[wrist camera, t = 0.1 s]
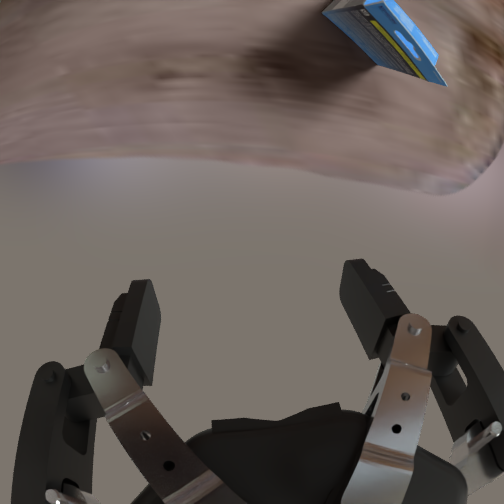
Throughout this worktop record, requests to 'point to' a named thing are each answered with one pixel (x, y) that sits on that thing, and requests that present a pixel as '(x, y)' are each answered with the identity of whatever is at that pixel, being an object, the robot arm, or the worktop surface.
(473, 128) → the worktop surface
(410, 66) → the label tape box
